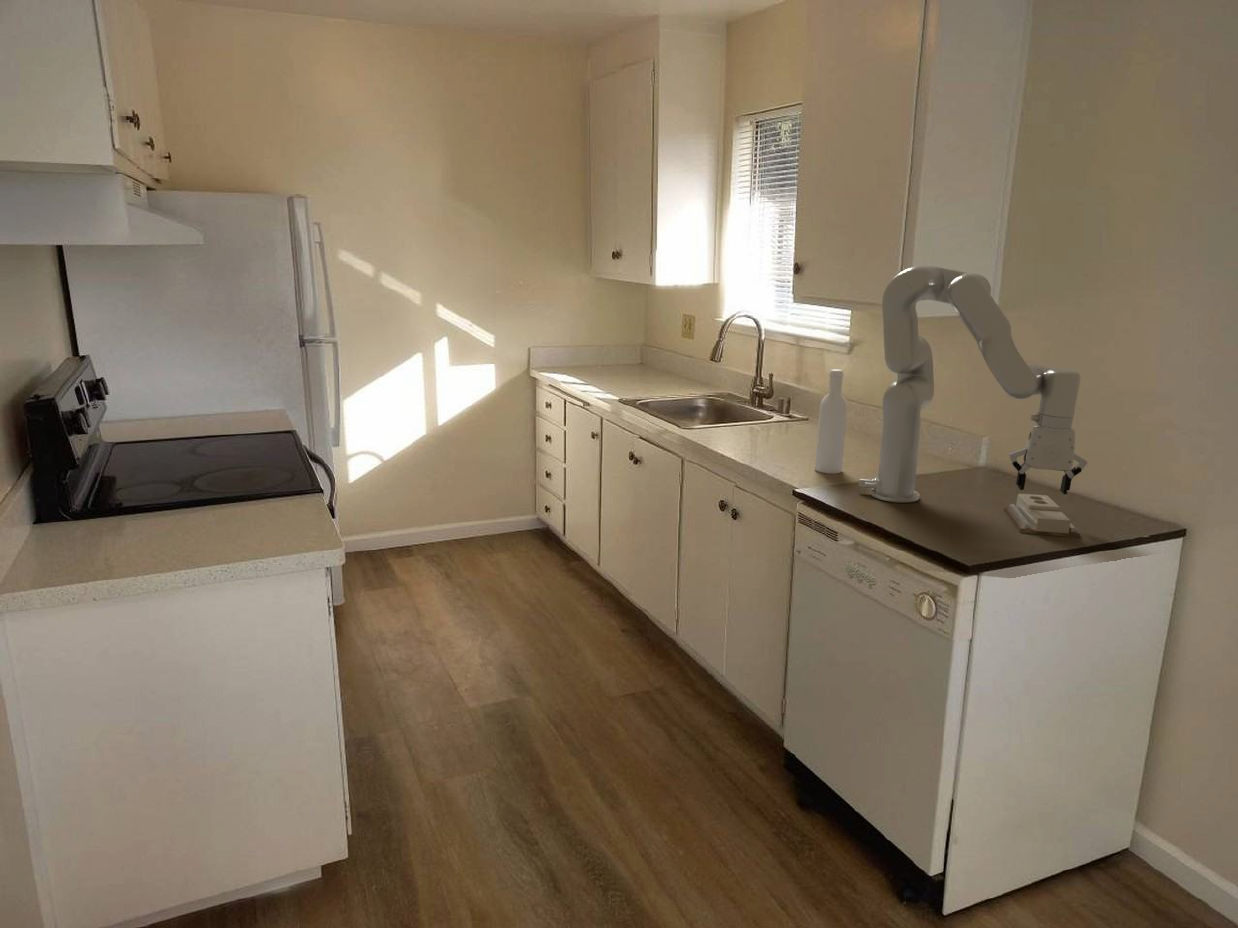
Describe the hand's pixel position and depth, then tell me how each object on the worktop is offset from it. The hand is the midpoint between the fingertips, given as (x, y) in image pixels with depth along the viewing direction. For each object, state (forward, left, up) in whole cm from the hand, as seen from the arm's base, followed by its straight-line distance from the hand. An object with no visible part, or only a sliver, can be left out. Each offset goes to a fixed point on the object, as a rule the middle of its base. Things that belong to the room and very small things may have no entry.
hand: (1041, 490), depth 209 cm
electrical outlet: (0, -1, -7) cm, 8 cm away
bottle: (-49, +37, -8) cm, 62 cm away
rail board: (+1, 0, -8) cm, 8 cm away
